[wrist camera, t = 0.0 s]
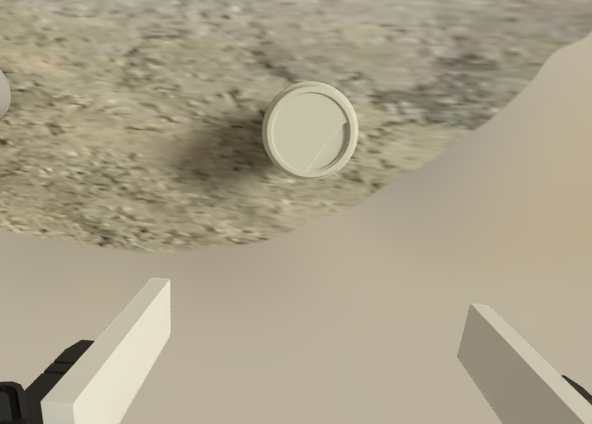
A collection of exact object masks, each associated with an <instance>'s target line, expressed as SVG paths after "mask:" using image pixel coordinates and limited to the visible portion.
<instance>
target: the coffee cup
mask: <svg viewBox="0 0 592 424" xmlns="http://www.w3.org/2000/svg"><path fill="white" fill-rule="evenodd" d="M262 139H263V144H264V147H265V150H266V152H267V154H268V156H269V158H270V159H271V161H272V162H273V163H274V165H275V166H276V167H277V168H278V169H280V170H281V171H282V172H284V173H285V174H287V175H289V176H291V177H294V178H297V179H301V180H319V179H323V178H326V177H328V176H331V175H333V174H334V173H336V172H337V171H339V170H340V169H341V168H342V167H343V166H344V165H345V164H346V163H347V162H348V161H349V159H350V158H351V156H352V154H353V152H354V150H355V147H356V144H357V139H358V122H357V117H356V114H355V111H354V109H353V107H352V105H351V103H350V102H349V101H348V99H347V98H346V97H345V96H344V95H343V94H342V93H341V92H340V91H338V90H337V89H335V88H334V87H332V86H330V85H327V84H324V83H320V82H313V81H309V82H301V83H297V84H294V85H292V86H289V87H288V88H286V89H284V90H283V91H281V92H280V93H279V94H278V95H277V96H276V97H275V98H274V99H273V100H272V102H271V103H270V105H269V107H268V108H267V110H266V113H265V116H264V119H263V124H262Z"/></svg>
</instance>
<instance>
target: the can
mask: <svg viewBox="0 0 592 424" xmlns="http://www.w3.org/2000/svg"><path fill="white" fill-rule="evenodd" d="M10 101H11V94H10V87H9V84H8V82H7V79H6V77H5V75H4V74H3V73H2V71H1V70H0V119H1V118H2V117H3V116H4V115H5V113H6V112H7V111H8V109H9V105H10Z"/></svg>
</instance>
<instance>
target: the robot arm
mask: <svg viewBox="0 0 592 424" xmlns="http://www.w3.org/2000/svg"><path fill="white" fill-rule="evenodd" d="M169 336H170V279H165V278H153V277H152V278H151V279H150V280H149V281H148V283H147V284H146V285H145V286H144V287H143V288H142V289H141V290H140V291H139V293H138V294H137V295H136V296H135V297H134V298H133V299H132V300H131V302H130V303H129V304H128V305H127V306H126V307H125V308H124V309H123V310H122V312H121V313H120V314H119V315H118V316H117V317H116V318H115V319H114V320H113V322H112V323H111V324H110V325H109V326H108V327H107V328H106V329H105V331H104V332H103V333H102V334H101V335H100V336H99V337H98V338H97V339H96V340H95V341H90V340H81V341H79V342H77V343H76V344H74V345H72V346H71V347H69V348H67V349H65V350H64V352H63V353H62V354H60V356H58V358H57V359H56V360H55V361H54V363H52V364H51V365H50V366H49V367H48V368H47V369H46V370H45V371H44V373H42V374H41V375H40V376H39V377H38V378H37V379H36V380H35V381H34V382H33V383H32V384H31V385H30V386H29V387H28V388H27V389H26V390H25V391H24V389H23V388H22V386H21V384H18V383H15V382H0V424H119V423H120V421H121V419H122V418H123V416H124V414H125V413H126V411H127V409H128V407H129V406H130V404H131V402H132V400H133V399H134V397H135V395H136V393H137V392H138V390H139V388H140V387H141V385H142V383H143V381H144V380H145V378H146V376H147V374H148V373H149V371H150V369H151V367H152V366H153V364H154V362H155V360H156V359H157V357H158V355H159V354H160V352H161V350H162V348H163V347H164V345H165V343H166V341H167V340H168V338H169ZM457 357H458V359H459V360H460V362H461V363H462V365H463V366H464V368H465V369H466V370H467V372H468V373H469V375H470V376H471V378H472V379H473V381H474V382H475V384H476V385H477V387H478V388H479V389H480V391H481V393H482V394H483V396H484V397H485V398H486V400H487V401H488V403H489V404H490V406H491V407H492V409H493V410H494V412H495V413H496V415H497V416H498V417H499V419H500V421H501V422H502V423H503V424H592V396H591V395H590V394H589V393H588V392H587V391H586V390H585V389H584V388H583V387H581V386H580V385H578V384H577V383H575V382H574V381H572V380H571V379H569V378H568V377H566V376H564V375H560V374H559V373H558V372H557V371H555V369H553V367H551V366H550V365H549V364H548V363H547V362H546V361H545V360H544V359H543V358H542V357H541V356H540V355H539V354H538V353H537V352H536V351H535V350H534V349H533V348H532V347H531V346H530V345H529V344H528V343H527V342H526V341H525V340H524V339H523V338H522V337H521V336H519V335H518V334H517V333H516V332H515V331H514V330H513V329H512V328H511V327H510V326H509V325H508V324H507V323H506V322H505V321H504V320H503V319H502V318H501V317H500V316H499V315H498V314H497V313H496V312H495V311H494V310H493V309H491V308H490V307H489V306H488V305H485V304H473V303H471V304H470V308H469V311H468V315H467V319H466V323H465V327H464V331H463V335H462V339H461V343H460V347H459V351H458V355H457Z"/></svg>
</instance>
